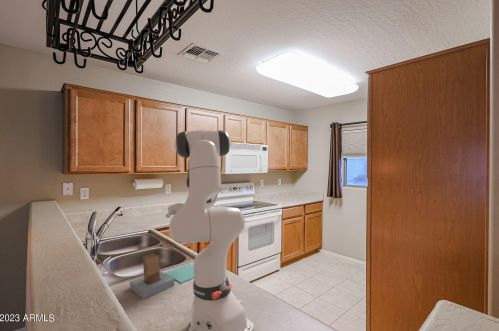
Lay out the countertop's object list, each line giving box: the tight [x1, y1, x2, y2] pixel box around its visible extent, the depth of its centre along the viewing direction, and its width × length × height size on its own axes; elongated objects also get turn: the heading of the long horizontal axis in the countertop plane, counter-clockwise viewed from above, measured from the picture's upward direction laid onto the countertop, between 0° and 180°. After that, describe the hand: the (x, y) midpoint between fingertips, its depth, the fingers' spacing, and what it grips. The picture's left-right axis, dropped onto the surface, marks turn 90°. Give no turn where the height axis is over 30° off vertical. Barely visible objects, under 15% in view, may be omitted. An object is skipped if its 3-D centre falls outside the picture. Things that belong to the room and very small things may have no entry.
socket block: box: [129, 270, 175, 300], centre depth 108 cm, size 14×14×3 cm
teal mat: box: [164, 263, 194, 284], centre depth 121 cm, size 16×14×1 cm
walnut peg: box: [142, 252, 161, 285], centre depth 108 cm, size 5×5×14 cm
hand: (173, 218), depth 116 cm, fingers open, 8 cm apart
